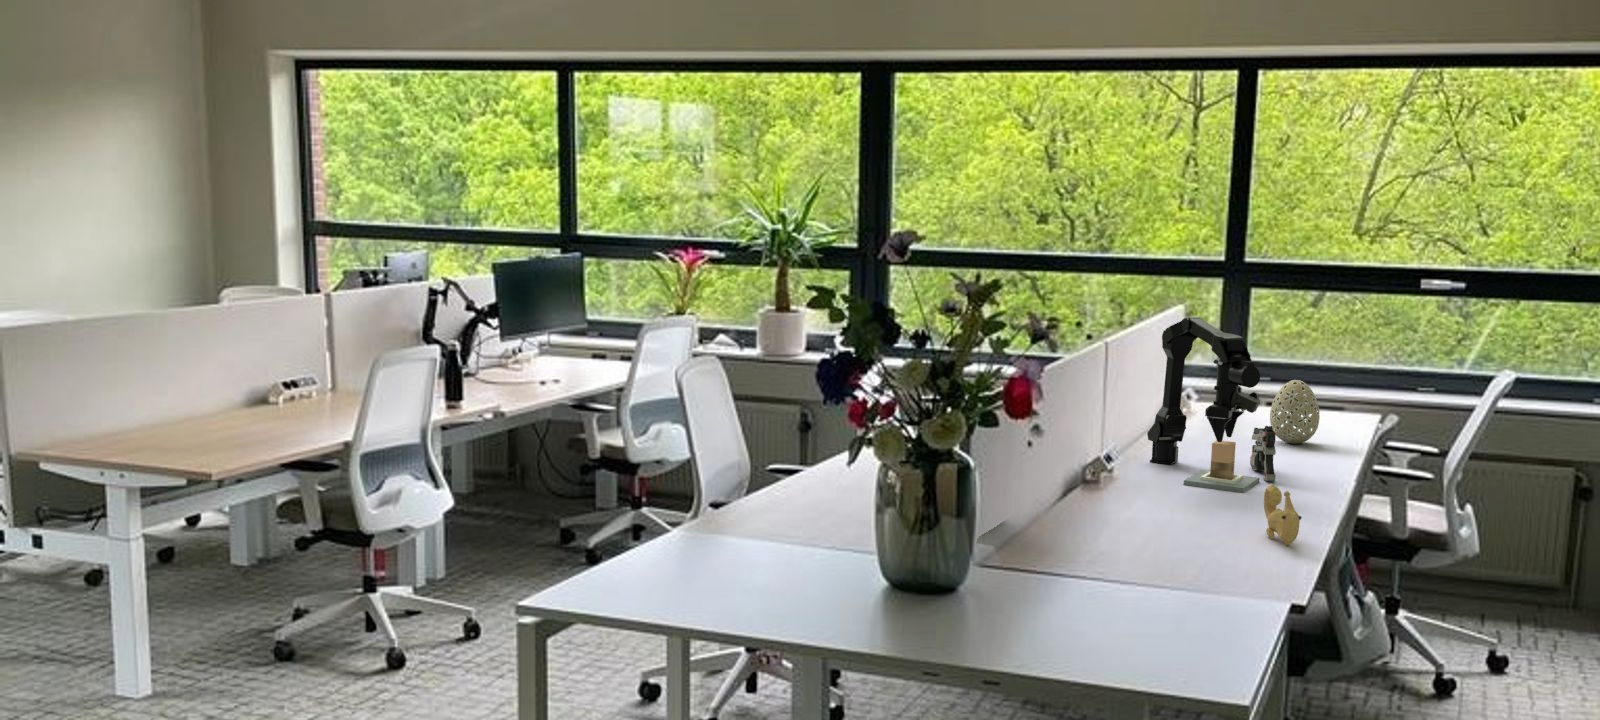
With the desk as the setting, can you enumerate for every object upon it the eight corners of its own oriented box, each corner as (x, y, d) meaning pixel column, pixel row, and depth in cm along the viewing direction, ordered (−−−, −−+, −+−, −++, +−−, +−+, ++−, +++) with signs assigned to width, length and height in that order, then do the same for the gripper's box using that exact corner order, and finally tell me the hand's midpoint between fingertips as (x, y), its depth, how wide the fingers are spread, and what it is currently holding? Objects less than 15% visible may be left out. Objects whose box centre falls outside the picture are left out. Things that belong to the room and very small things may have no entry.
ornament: (1322, 442, 451) (1326, 379, 448) (1311, 449, 439) (1315, 385, 436) (1275, 437, 459) (1278, 375, 456) (1262, 444, 446) (1266, 380, 444)
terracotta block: (1211, 461, 386) (1212, 443, 386) (1216, 458, 391) (1217, 440, 390) (1229, 463, 384) (1230, 445, 383) (1234, 460, 388) (1235, 442, 387)
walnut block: (1209, 479, 387) (1210, 461, 386) (1215, 476, 391) (1216, 458, 391) (1228, 481, 384) (1229, 463, 384) (1233, 478, 389) (1234, 460, 388)
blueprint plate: (1183, 484, 385) (1183, 477, 385) (1200, 474, 399) (1201, 467, 399) (1243, 492, 377) (1244, 485, 377) (1259, 481, 391) (1259, 474, 390)
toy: (1280, 479, 337) (1309, 497, 317) (1277, 530, 339) (1306, 551, 319) (1257, 479, 337) (1285, 497, 317) (1255, 530, 339) (1281, 551, 319)
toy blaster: (1260, 479, 410) (1262, 426, 411) (1278, 481, 389) (1279, 426, 390) (1247, 478, 410) (1248, 426, 411) (1264, 480, 390) (1265, 425, 390)
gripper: (1249, 389, 372) (1245, 448, 374) (1267, 381, 388) (1263, 437, 390) (1206, 385, 378) (1203, 443, 380) (1225, 377, 394) (1222, 433, 396)
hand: (1224, 439), depth 386 cm, fingers open, 9 cm apart
